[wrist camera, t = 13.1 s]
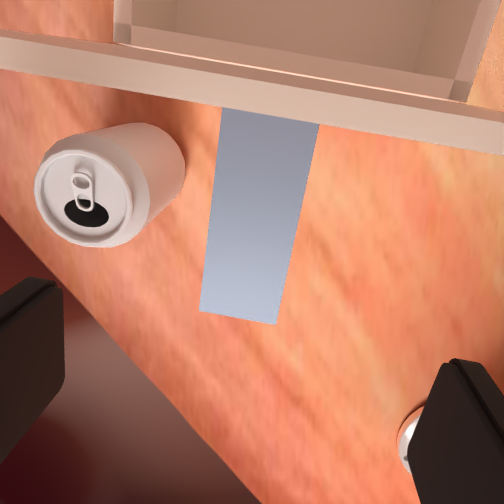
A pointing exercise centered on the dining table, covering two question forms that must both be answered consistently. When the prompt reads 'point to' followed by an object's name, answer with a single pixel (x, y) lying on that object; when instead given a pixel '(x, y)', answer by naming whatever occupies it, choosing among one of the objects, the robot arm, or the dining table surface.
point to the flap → (254, 145)
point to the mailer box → (324, 38)
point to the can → (108, 183)
